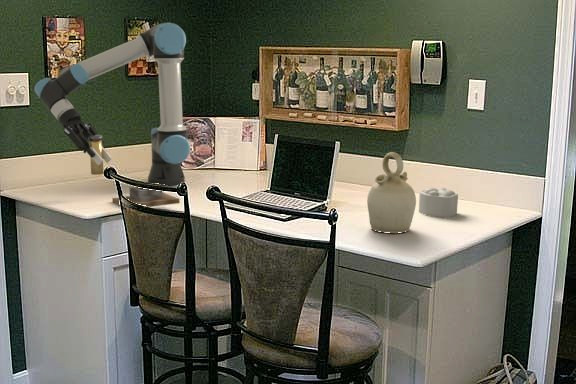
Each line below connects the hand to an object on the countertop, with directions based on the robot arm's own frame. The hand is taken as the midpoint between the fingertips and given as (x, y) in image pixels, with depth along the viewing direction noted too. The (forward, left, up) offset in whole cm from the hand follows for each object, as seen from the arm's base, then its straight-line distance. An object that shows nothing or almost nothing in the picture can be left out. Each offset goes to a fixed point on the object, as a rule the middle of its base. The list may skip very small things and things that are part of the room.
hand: (105, 161), depth 270 cm
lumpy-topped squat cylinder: (-89, +80, -15) cm, 121 cm away
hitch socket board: (-11, +10, -15) cm, 21 cm away
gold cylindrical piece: (+2, -3, -5) cm, 6 cm away
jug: (-59, +88, -15) cm, 107 cm away
